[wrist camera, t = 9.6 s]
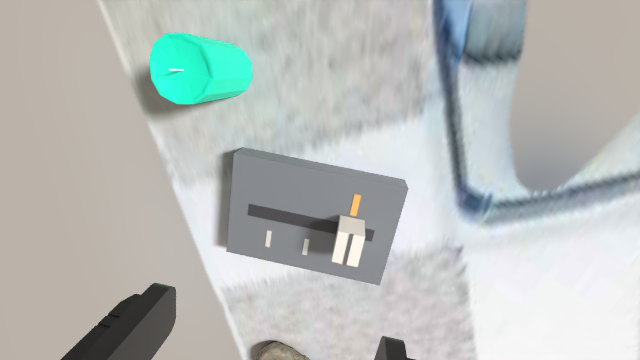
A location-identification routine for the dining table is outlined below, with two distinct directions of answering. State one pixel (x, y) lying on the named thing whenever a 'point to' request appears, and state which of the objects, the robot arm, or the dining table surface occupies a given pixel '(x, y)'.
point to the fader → (349, 241)
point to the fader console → (310, 212)
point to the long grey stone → (279, 353)
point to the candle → (198, 69)
